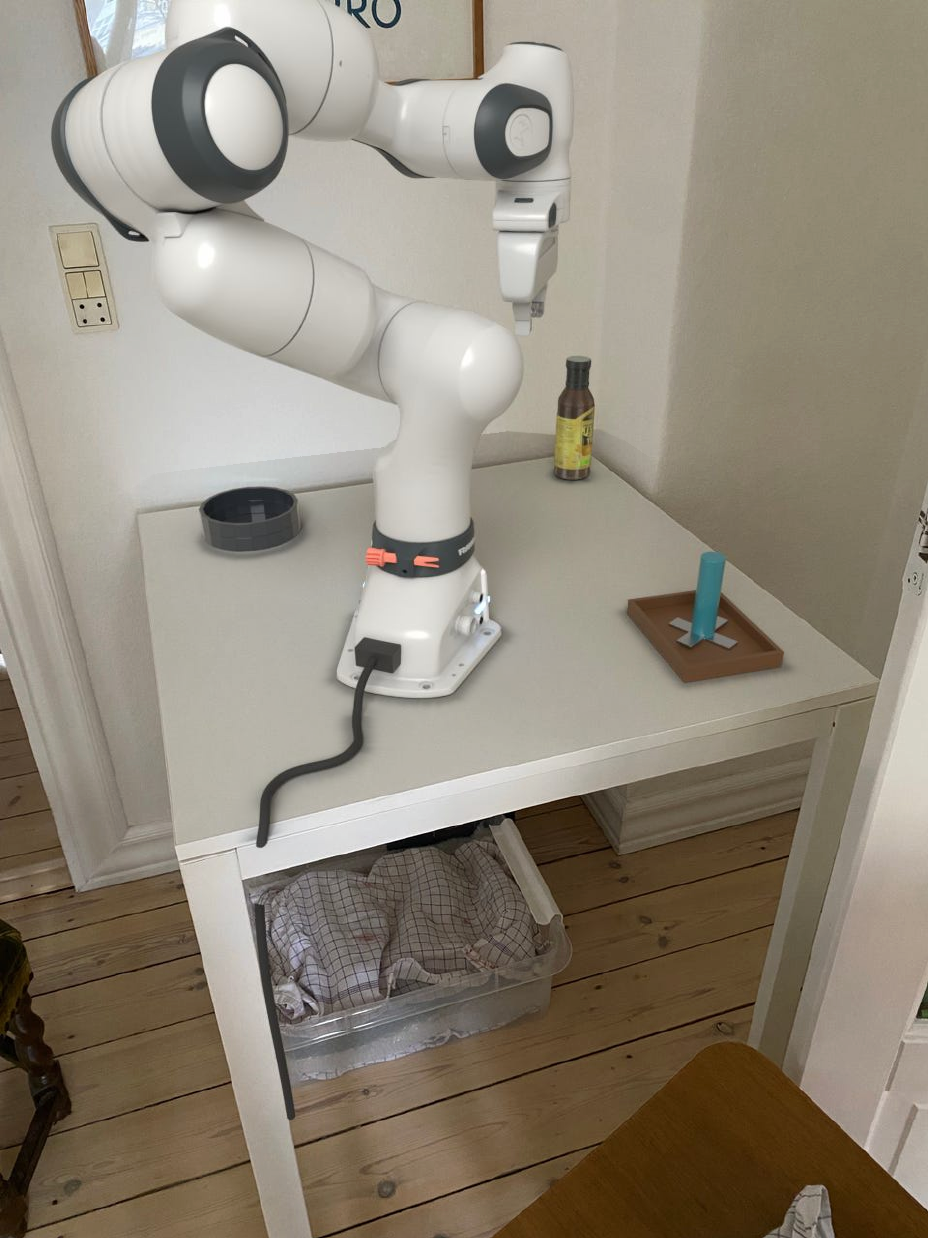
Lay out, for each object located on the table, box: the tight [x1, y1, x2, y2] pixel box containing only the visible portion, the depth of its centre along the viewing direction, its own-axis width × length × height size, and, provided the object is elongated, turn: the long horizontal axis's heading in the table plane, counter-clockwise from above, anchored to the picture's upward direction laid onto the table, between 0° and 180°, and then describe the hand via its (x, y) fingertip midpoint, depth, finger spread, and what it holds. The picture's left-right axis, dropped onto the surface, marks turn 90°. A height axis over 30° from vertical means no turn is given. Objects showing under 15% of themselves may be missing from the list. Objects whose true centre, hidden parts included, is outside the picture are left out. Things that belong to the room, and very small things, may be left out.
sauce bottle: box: [553, 355, 596, 481], centre depth 153 cm, size 6×6×20 cm
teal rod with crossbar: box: [668, 551, 738, 650], centre depth 109 cm, size 8×8×10 cm
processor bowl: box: [198, 485, 302, 553], centre depth 137 cm, size 14×14×5 cm
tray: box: [626, 589, 785, 684], centre depth 111 cm, size 16×12×2 cm
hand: (530, 324), depth 115 cm, fingers open, 8 cm apart
